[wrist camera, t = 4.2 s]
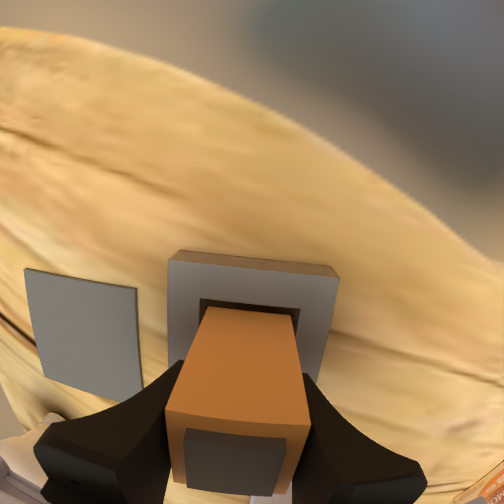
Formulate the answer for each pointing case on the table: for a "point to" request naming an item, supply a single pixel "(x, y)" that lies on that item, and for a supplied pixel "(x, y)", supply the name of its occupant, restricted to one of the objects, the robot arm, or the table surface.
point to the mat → (86, 333)
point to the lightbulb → (27, 452)
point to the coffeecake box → (486, 488)
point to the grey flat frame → (250, 298)
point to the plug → (239, 406)
